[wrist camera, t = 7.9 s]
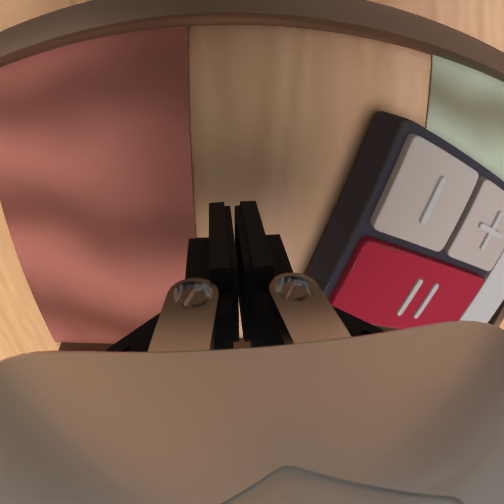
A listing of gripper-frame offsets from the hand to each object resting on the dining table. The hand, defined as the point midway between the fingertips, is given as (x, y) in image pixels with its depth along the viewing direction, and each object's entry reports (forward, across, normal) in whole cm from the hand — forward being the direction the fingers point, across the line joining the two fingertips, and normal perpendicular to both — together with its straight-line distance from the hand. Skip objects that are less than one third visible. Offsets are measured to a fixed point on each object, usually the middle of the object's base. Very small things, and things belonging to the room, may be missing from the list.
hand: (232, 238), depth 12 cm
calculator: (+5, -13, +3) cm, 14 cm away
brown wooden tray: (+5, -5, +1) cm, 7 cm away
